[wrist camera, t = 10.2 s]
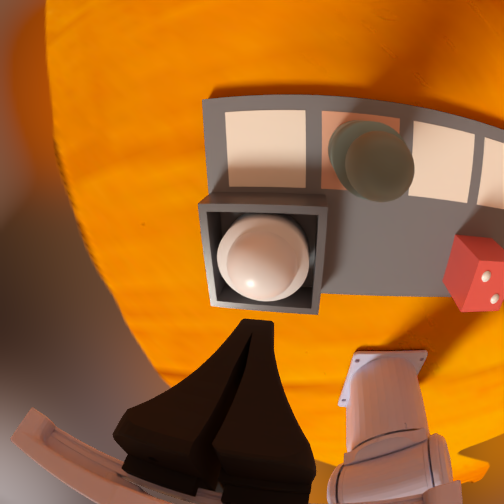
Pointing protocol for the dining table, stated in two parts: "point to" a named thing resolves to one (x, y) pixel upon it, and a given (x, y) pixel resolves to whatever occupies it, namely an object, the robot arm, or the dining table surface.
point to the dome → (264, 256)
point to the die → (475, 274)
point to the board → (348, 194)
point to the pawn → (371, 160)
